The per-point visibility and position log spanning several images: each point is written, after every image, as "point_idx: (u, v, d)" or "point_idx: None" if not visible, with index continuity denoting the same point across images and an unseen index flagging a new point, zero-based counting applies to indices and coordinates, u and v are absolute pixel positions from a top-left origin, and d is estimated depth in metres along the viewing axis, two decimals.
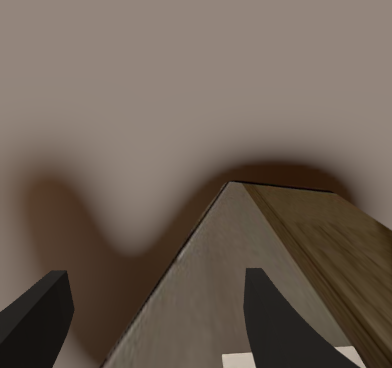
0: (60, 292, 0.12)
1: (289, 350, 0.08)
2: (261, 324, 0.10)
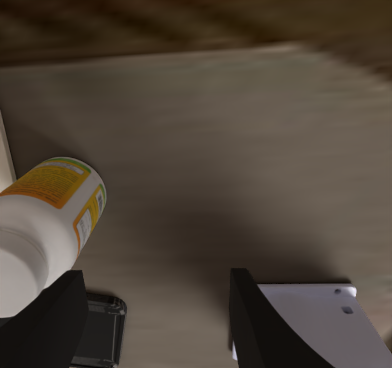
0: (76, 292, 0.12)
1: (266, 350, 0.08)
2: (243, 324, 0.10)
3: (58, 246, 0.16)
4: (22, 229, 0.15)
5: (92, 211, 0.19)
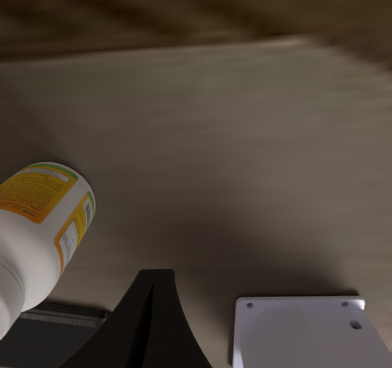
0: None
1: (152, 352, 0.08)
2: None
3: (37, 267, 0.14)
4: None
5: (79, 223, 0.18)
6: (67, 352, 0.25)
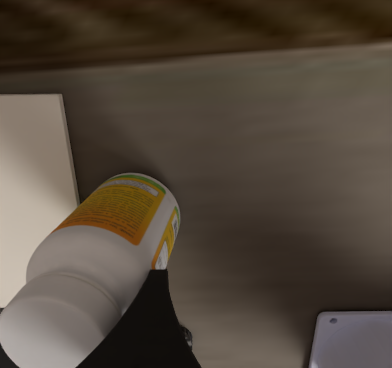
0: None
1: (142, 352, 0.08)
2: None
3: (135, 295, 0.12)
4: (93, 272, 0.12)
5: (169, 242, 0.16)
6: None
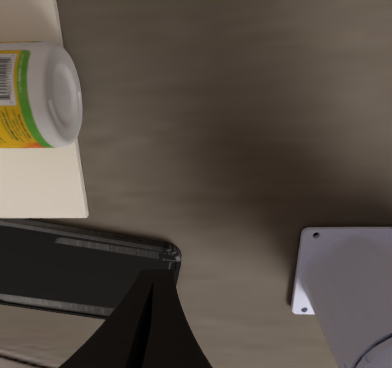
0: None
1: (152, 352, 0.08)
2: None
3: None
4: None
5: None
6: (127, 286, 0.25)
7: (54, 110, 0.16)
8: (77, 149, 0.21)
